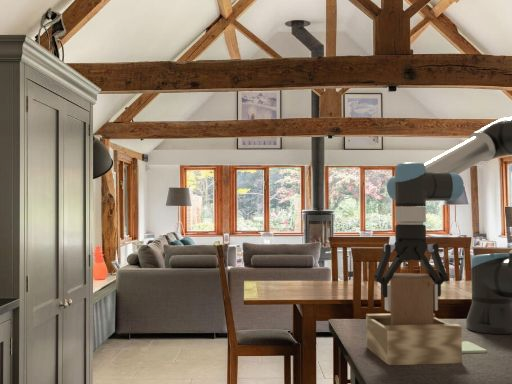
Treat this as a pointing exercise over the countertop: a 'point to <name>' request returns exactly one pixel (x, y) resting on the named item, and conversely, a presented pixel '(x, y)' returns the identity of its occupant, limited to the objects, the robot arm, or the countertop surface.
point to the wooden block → (411, 299)
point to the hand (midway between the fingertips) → (411, 310)
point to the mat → (471, 348)
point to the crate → (413, 341)
